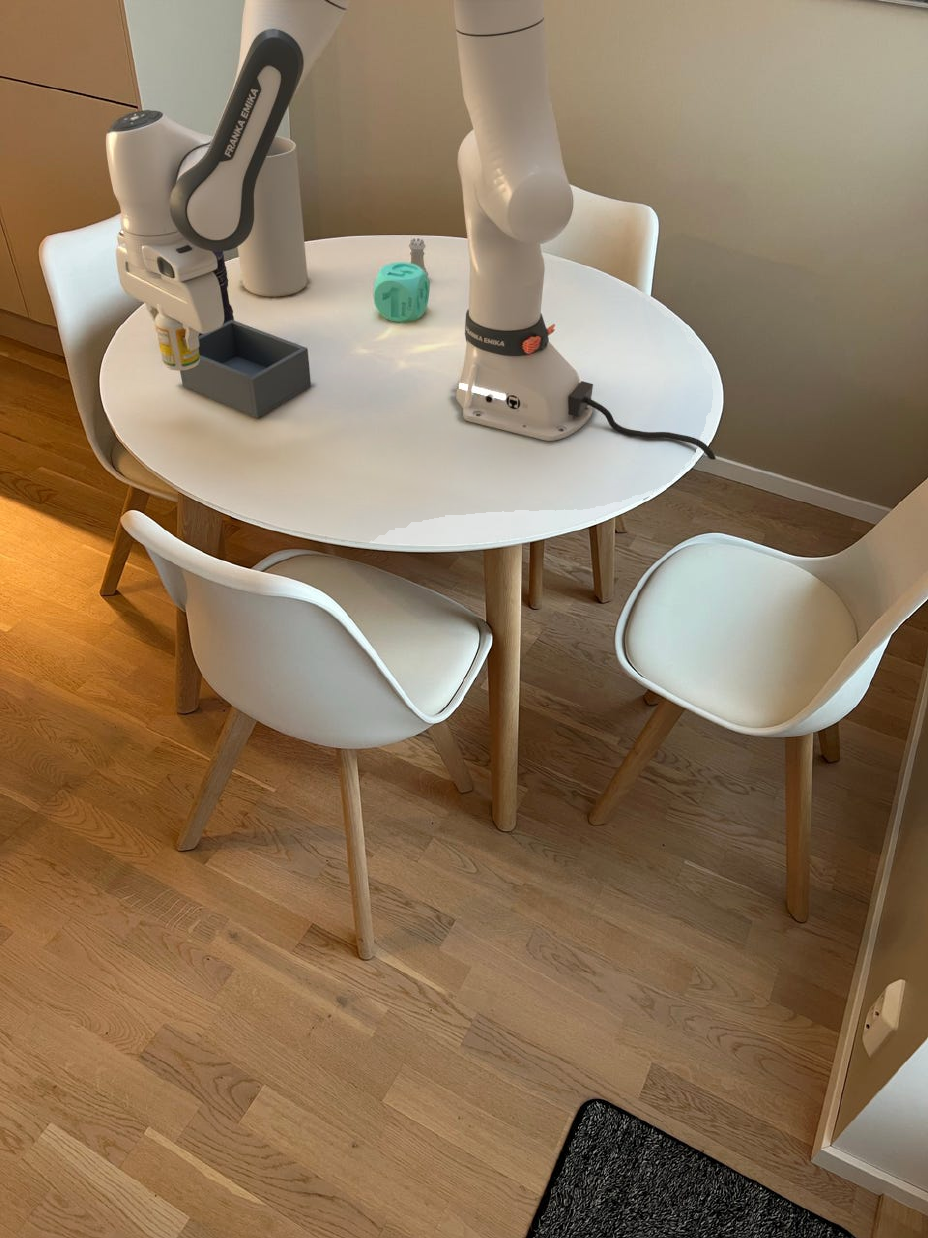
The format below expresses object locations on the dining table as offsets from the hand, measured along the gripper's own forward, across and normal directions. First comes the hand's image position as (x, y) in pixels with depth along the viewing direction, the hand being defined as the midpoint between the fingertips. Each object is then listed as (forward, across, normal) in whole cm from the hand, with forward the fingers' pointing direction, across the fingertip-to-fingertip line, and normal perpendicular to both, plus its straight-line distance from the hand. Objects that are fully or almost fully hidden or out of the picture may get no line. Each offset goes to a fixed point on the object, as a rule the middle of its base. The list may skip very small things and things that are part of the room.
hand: (178, 340), depth 135 cm
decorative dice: (+13, -3, +49) cm, 51 cm away
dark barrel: (+13, -20, +18) cm, 29 cm away
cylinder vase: (+13, -29, +40) cm, 51 cm away
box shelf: (+13, -2, +12) cm, 18 cm away
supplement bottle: (+4, 0, 0) cm, 4 cm away
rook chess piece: (+13, -10, +61) cm, 63 cm away
